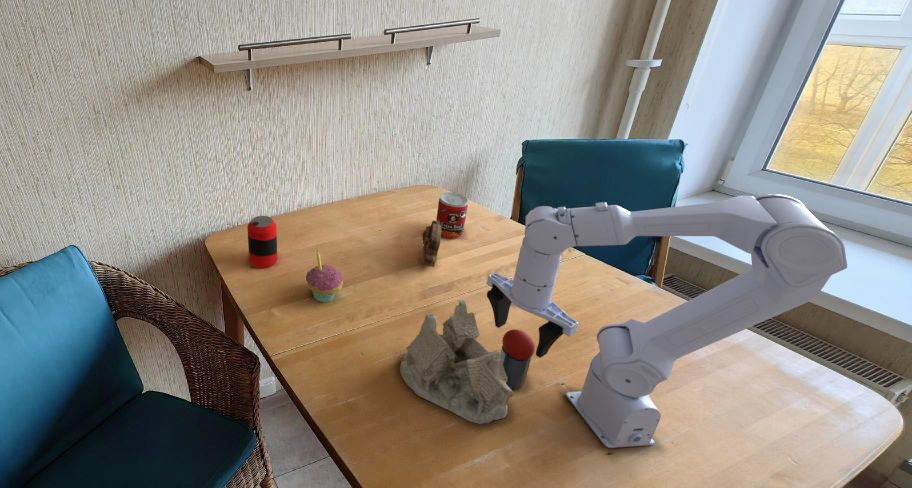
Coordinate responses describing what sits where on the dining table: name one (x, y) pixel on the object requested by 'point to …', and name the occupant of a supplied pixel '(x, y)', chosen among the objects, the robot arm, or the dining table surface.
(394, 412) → the dining table surface
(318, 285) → the cupcake
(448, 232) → the canned food
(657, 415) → the robot arm
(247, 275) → the dining table surface
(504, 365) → the cup
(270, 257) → the soda can
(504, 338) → the ball
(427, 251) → the wooden carving
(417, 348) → the ceramic cottage
